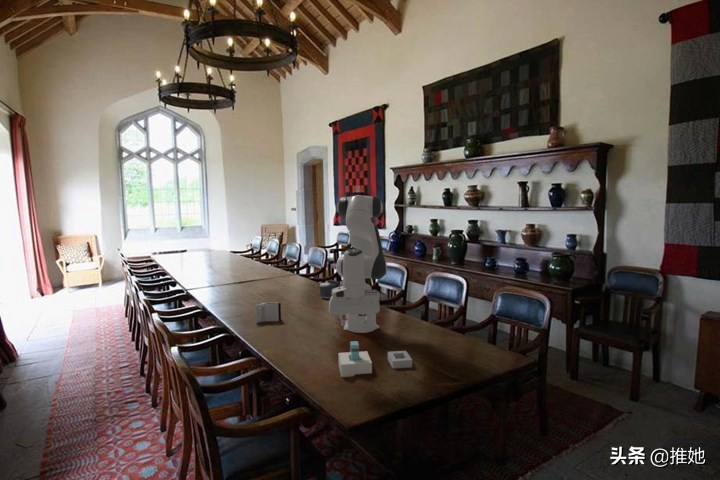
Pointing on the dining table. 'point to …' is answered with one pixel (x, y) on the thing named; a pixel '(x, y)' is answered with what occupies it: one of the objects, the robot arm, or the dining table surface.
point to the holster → (399, 359)
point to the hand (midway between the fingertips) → (354, 324)
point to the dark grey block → (327, 288)
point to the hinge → (268, 312)
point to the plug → (354, 351)
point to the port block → (354, 364)
